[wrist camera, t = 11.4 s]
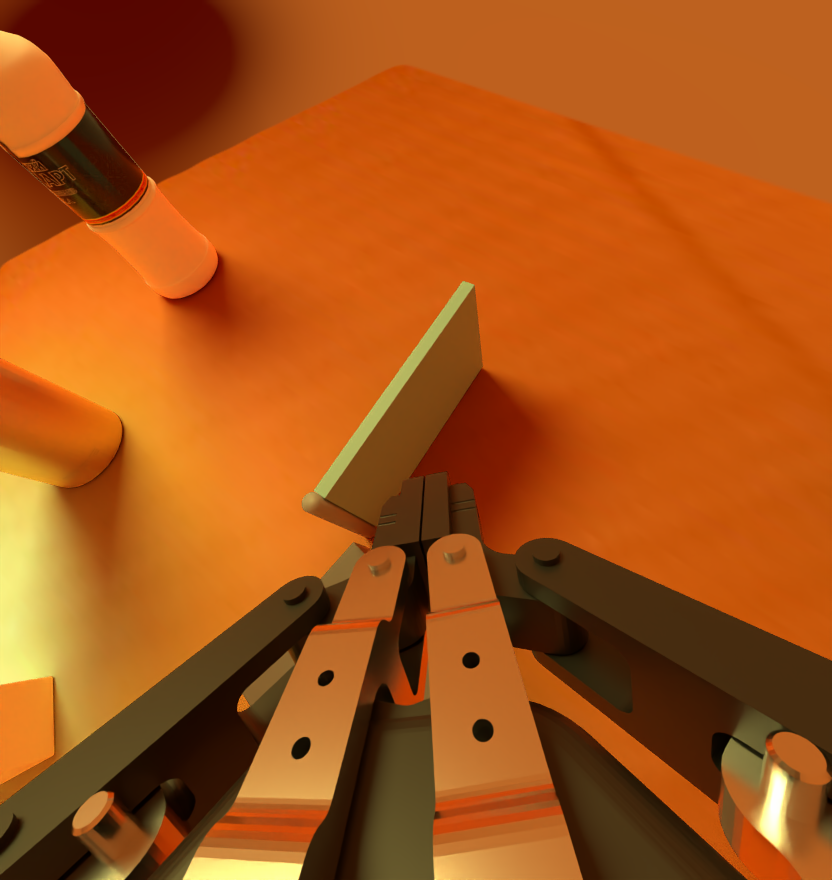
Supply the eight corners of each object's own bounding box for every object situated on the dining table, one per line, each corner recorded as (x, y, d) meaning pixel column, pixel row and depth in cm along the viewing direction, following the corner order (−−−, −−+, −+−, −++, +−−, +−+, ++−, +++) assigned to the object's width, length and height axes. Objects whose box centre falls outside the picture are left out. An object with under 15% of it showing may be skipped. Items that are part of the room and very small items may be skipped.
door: (371, 541, 31) (312, 516, 22) (359, 533, 32) (297, 505, 22) (484, 368, 35) (476, 283, 25) (472, 363, 35) (460, 278, 26)
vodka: (233, 269, 48) (-121, -156, 21) (173, 314, 47) (-276, -67, 20) (205, 236, 52) (-124, -158, 25) (149, 278, 51) (-254, -83, 24)
